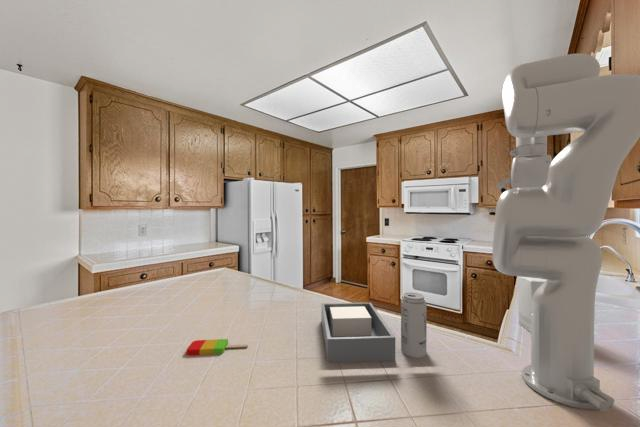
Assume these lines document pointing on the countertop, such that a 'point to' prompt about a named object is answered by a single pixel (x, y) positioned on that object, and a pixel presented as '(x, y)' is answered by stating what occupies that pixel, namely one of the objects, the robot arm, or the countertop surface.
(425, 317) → the energy drink can
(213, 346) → the popsicle
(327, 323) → the grocery crate
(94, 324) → the countertop surface
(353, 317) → the cream white box
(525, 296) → the skincare box
